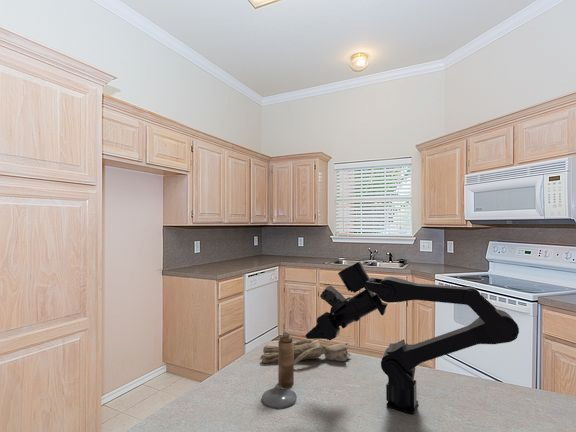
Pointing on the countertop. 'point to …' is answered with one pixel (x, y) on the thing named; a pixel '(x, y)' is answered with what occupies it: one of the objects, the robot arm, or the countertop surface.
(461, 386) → the countertop surface
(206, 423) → the countertop surface
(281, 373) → the pepper mill
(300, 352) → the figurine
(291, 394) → the coaster
